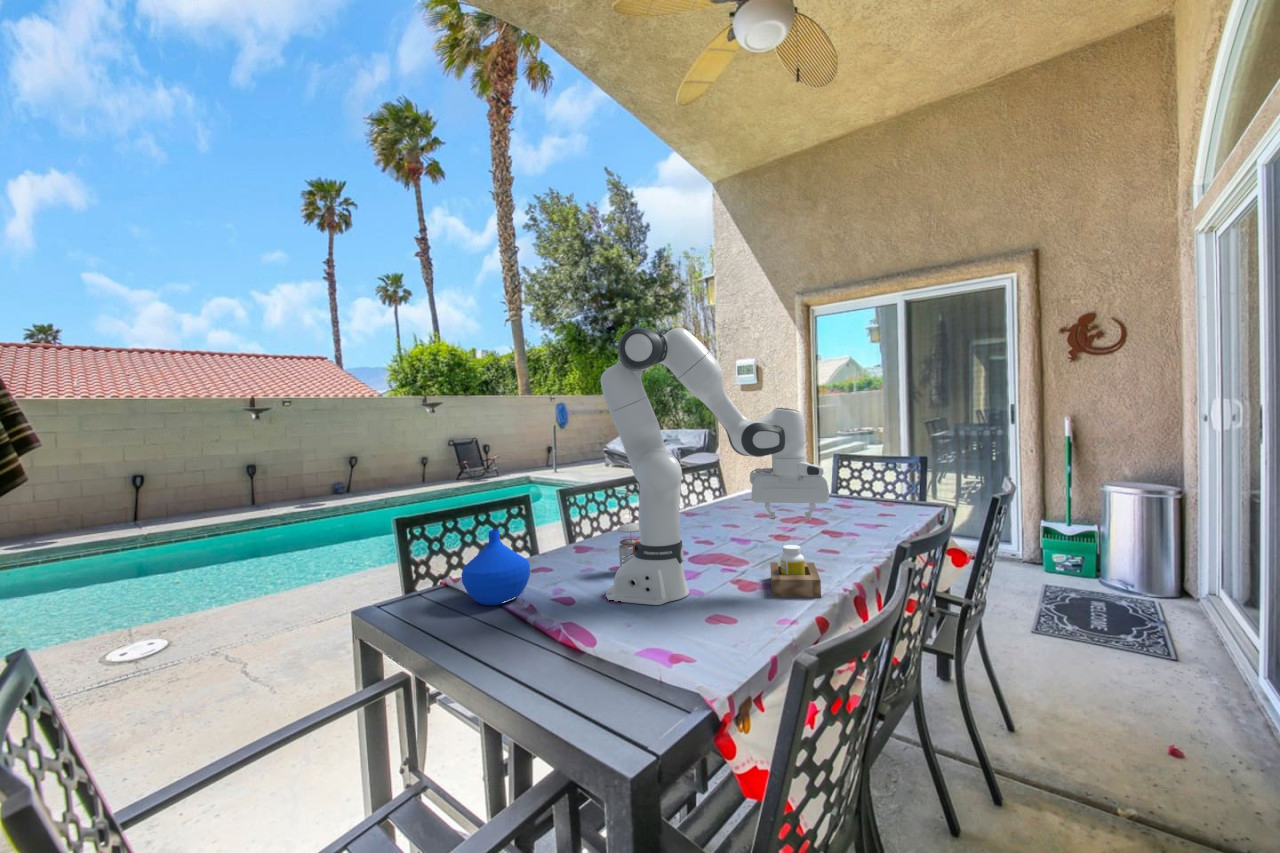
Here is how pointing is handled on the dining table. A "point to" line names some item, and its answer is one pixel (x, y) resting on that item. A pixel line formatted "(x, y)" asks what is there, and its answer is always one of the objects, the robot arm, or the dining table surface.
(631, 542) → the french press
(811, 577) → the box
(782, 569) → the pill bottle
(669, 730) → the dining table surface
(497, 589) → the vase
